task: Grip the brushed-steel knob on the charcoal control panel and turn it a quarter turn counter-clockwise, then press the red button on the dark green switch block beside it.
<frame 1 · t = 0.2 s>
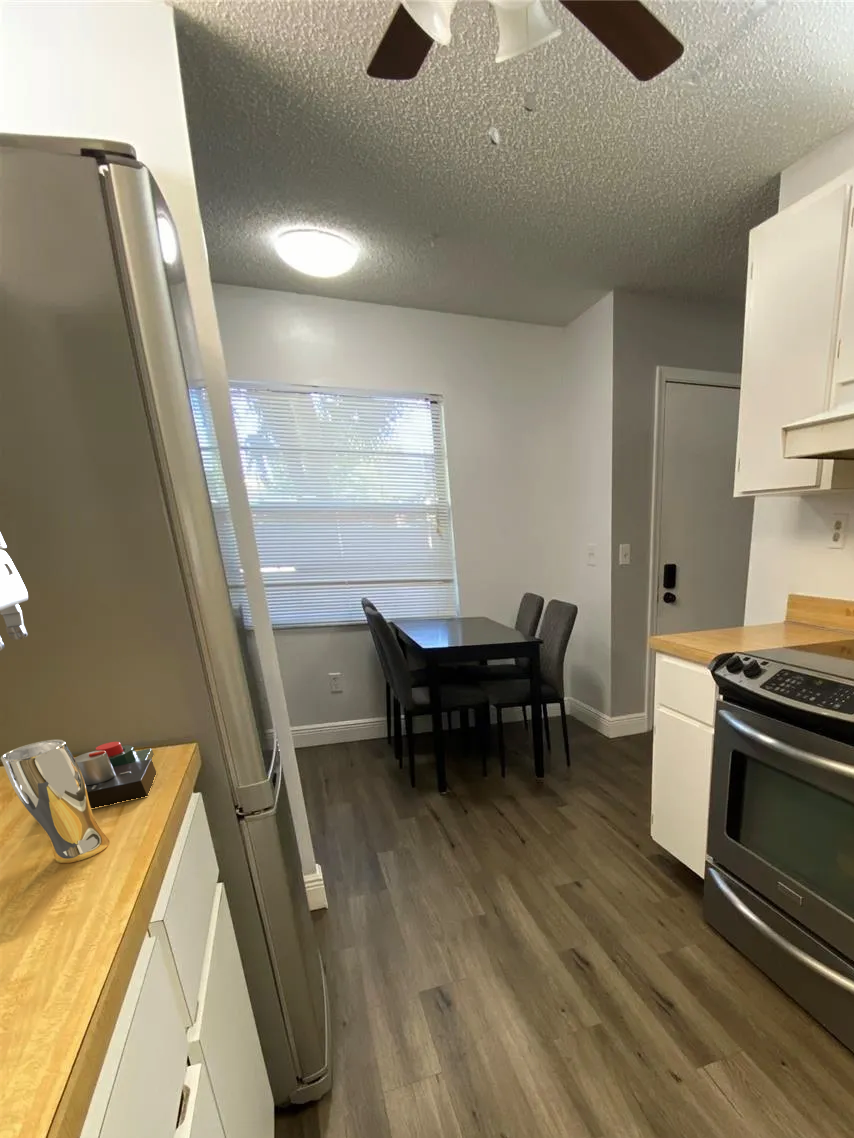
hand: (8, 644, 88), 26 cm above the countertop, tool pointing down, fingers open, 8 cm apart
button: (109, 750, 109), point 4 cm above the countertop, slide at 0.1 cm
beer glass: (83, 852, 86), on the countertop
switch block: (119, 773, 111), on the countertop
knob: (94, 766, 100), point 5 cm above the countertop, hinge at 0.0°
panel: (107, 795, 102), on the countertop
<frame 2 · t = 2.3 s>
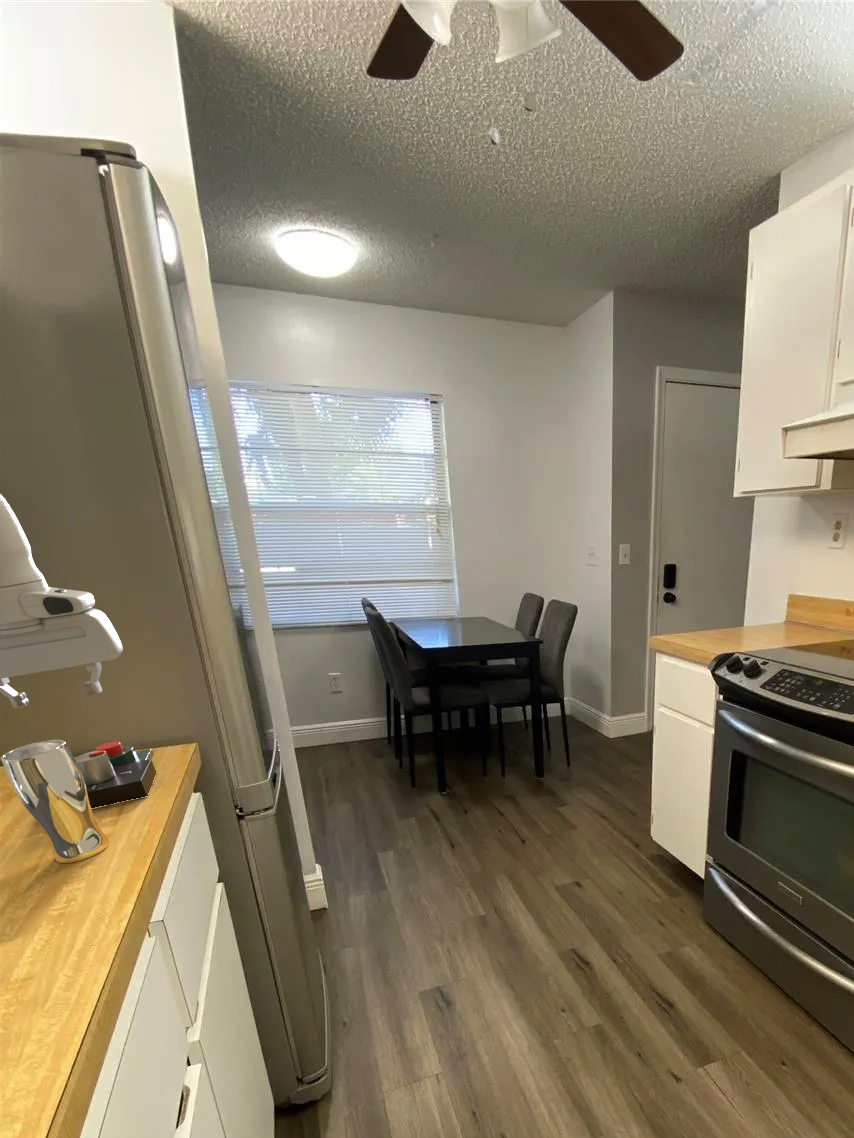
hand: (59, 699, 95), 17 cm above the countertop, tool pointing down, fingers open, 8 cm apart
nothing on the countertop moved.
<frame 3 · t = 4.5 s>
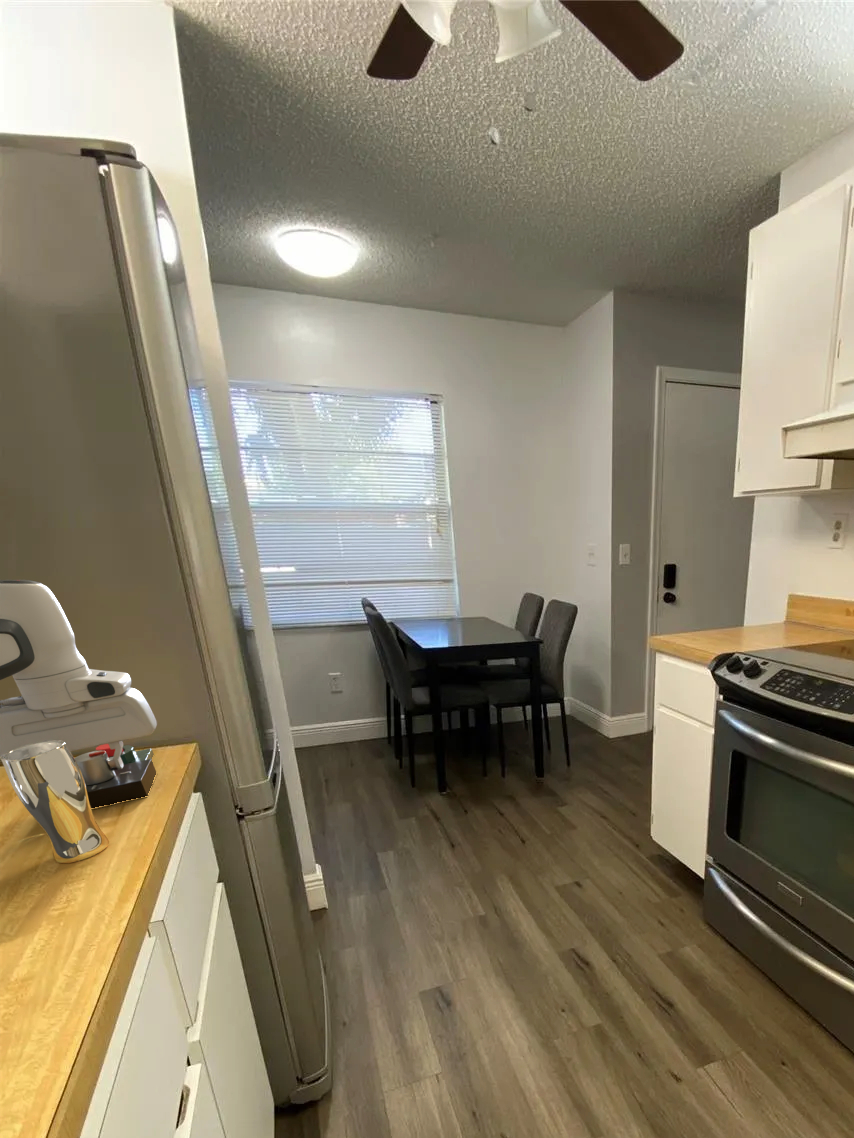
hand: (97, 772, 101), 4 cm above the countertop, tool pointing down, fingers closed on knob, 4 cm apart
knob: (94, 766, 100), point 5 cm above the countertop, hinge at 0.2°, touching gripper
everything else where it was.
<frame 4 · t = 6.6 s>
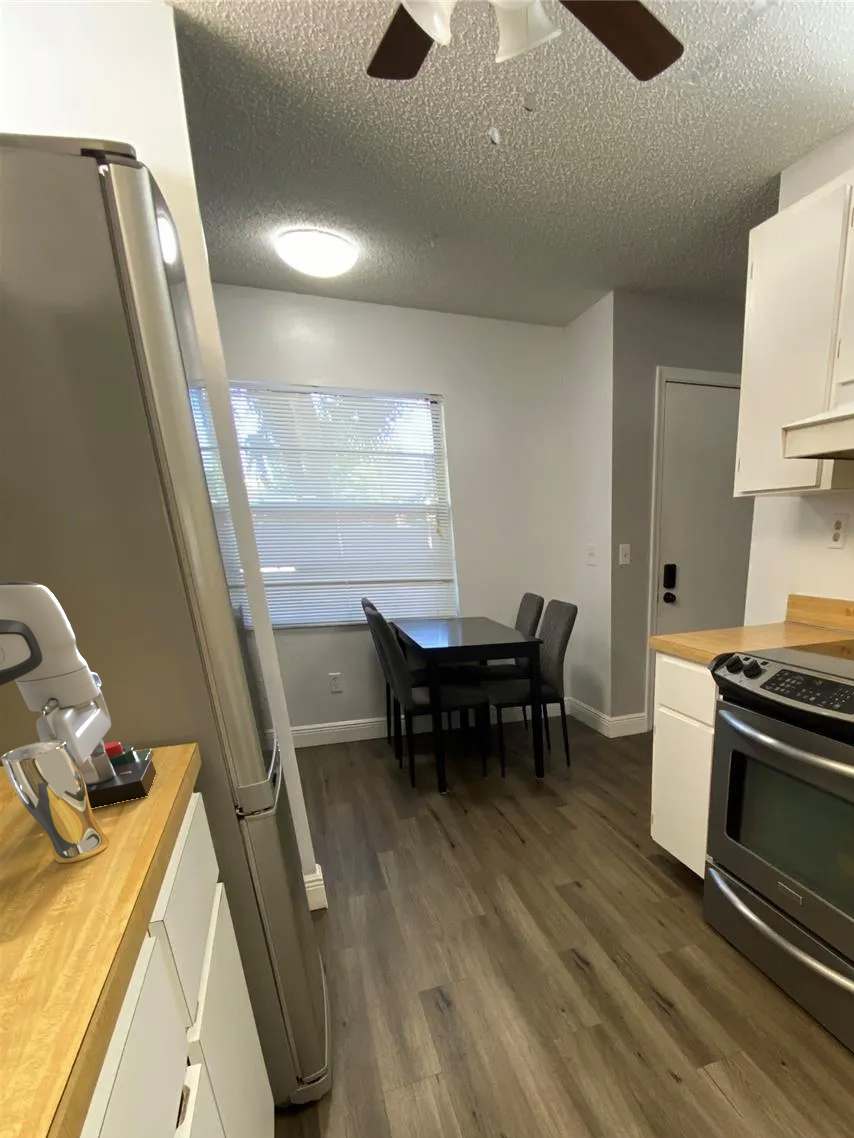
hand: (98, 774, 101), 4 cm above the countertop, tool pointing down, fingers closed on knob, 4 cm apart
knob: (94, 766, 100), point 5 cm above the countertop, hinge at 90.3°, touching gripper
everything else where it was.
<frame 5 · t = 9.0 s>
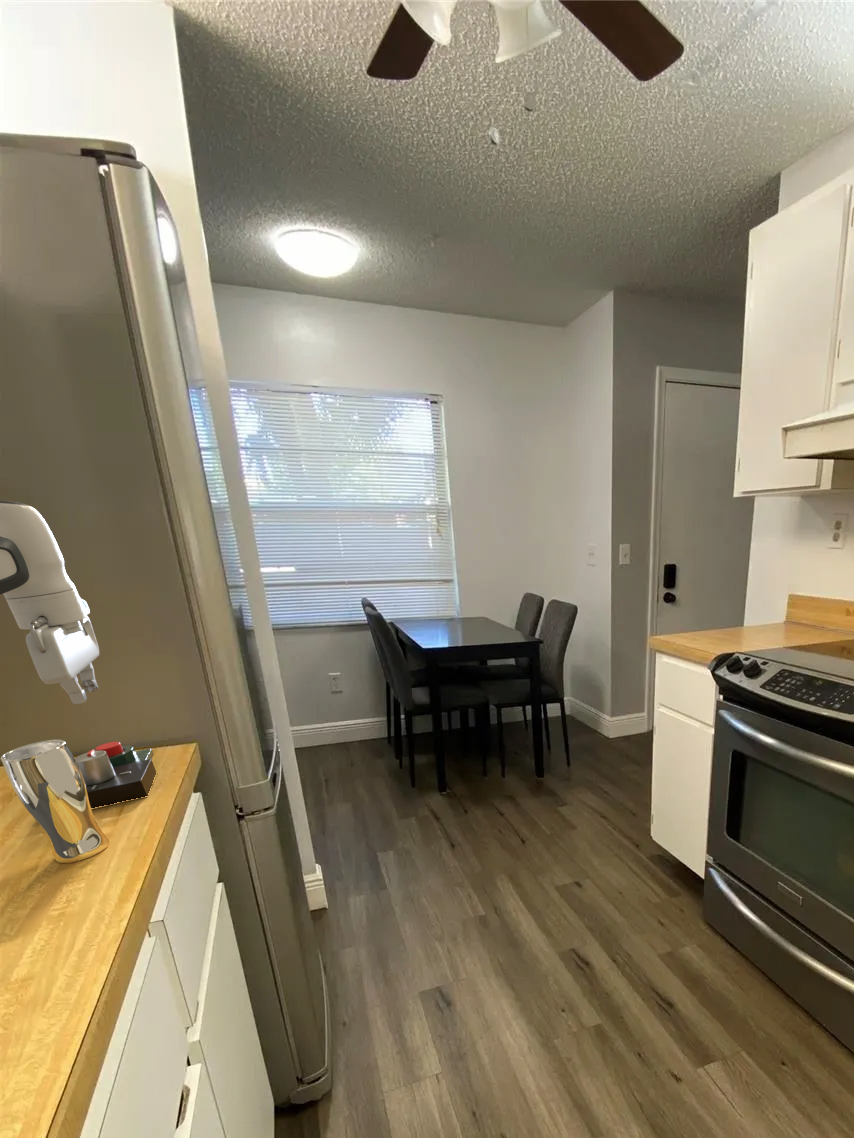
hand: (86, 696, 105), 14 cm above the countertop, tool pointing down, fingers open, 6 cm apart
knob: (94, 766, 100), point 5 cm above the countertop, hinge at 90.0°
everything else where it was.
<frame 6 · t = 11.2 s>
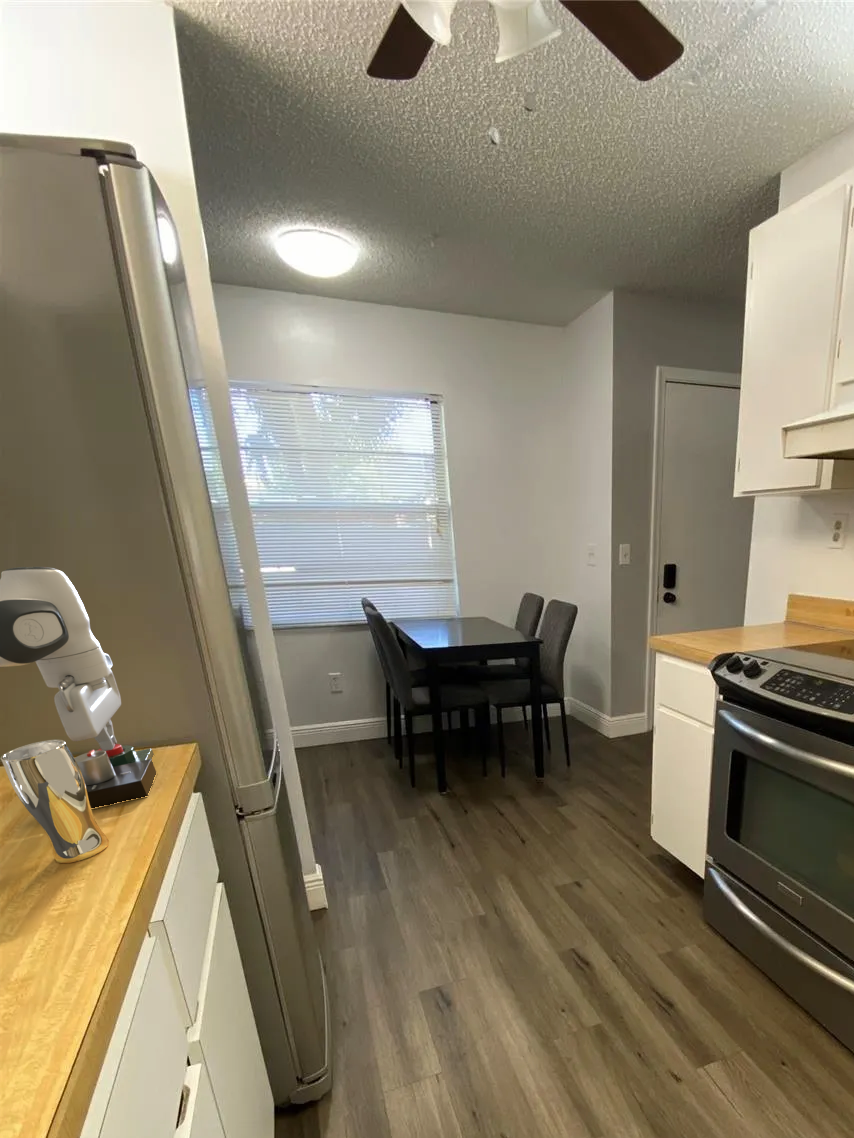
hand: (110, 747, 109), 5 cm above the countertop, tool pointing down, fingers closed, pressing on button
button: (110, 752, 109), point 4 cm above the countertop, slide at -0.4 cm, touching gripper
everything else where it was.
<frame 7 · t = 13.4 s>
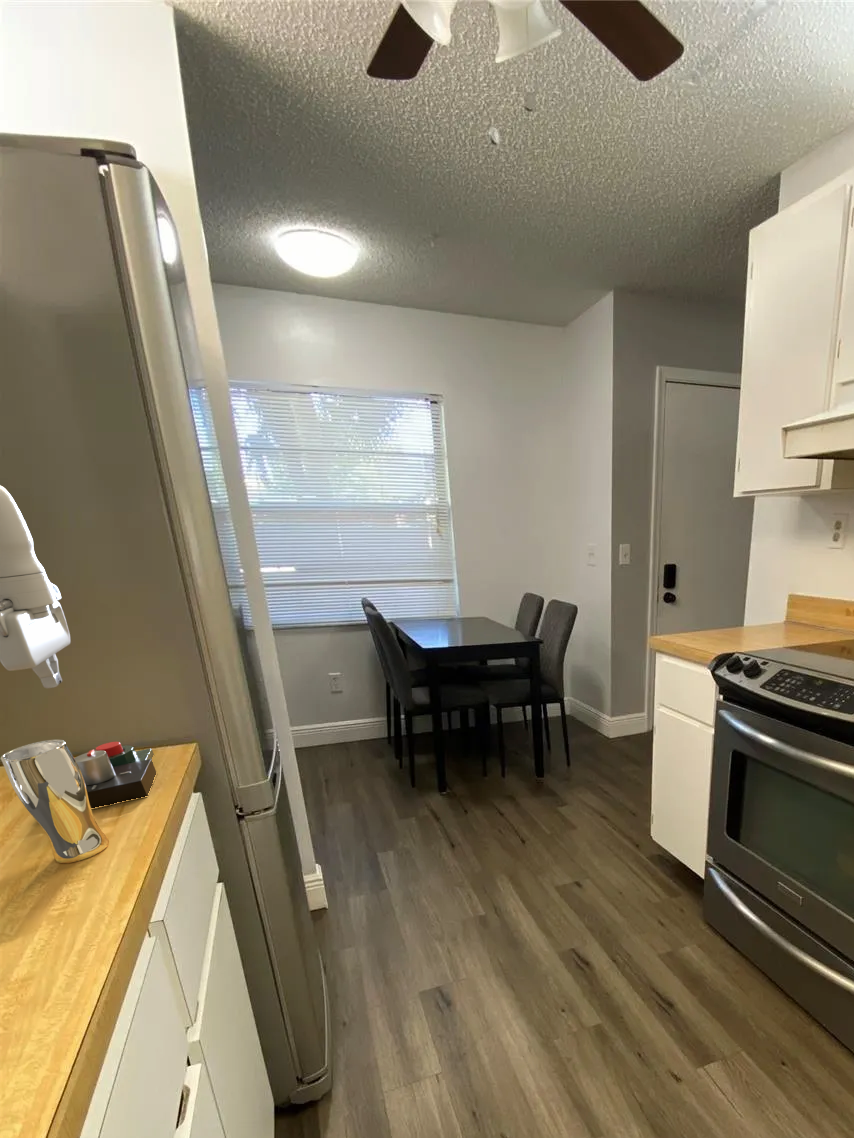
hand: (54, 685, 100), 17 cm above the countertop, tool pointing down, fingers closed
button: (109, 750, 109), point 4 cm above the countertop, slide at 0.1 cm
everything else where it was.
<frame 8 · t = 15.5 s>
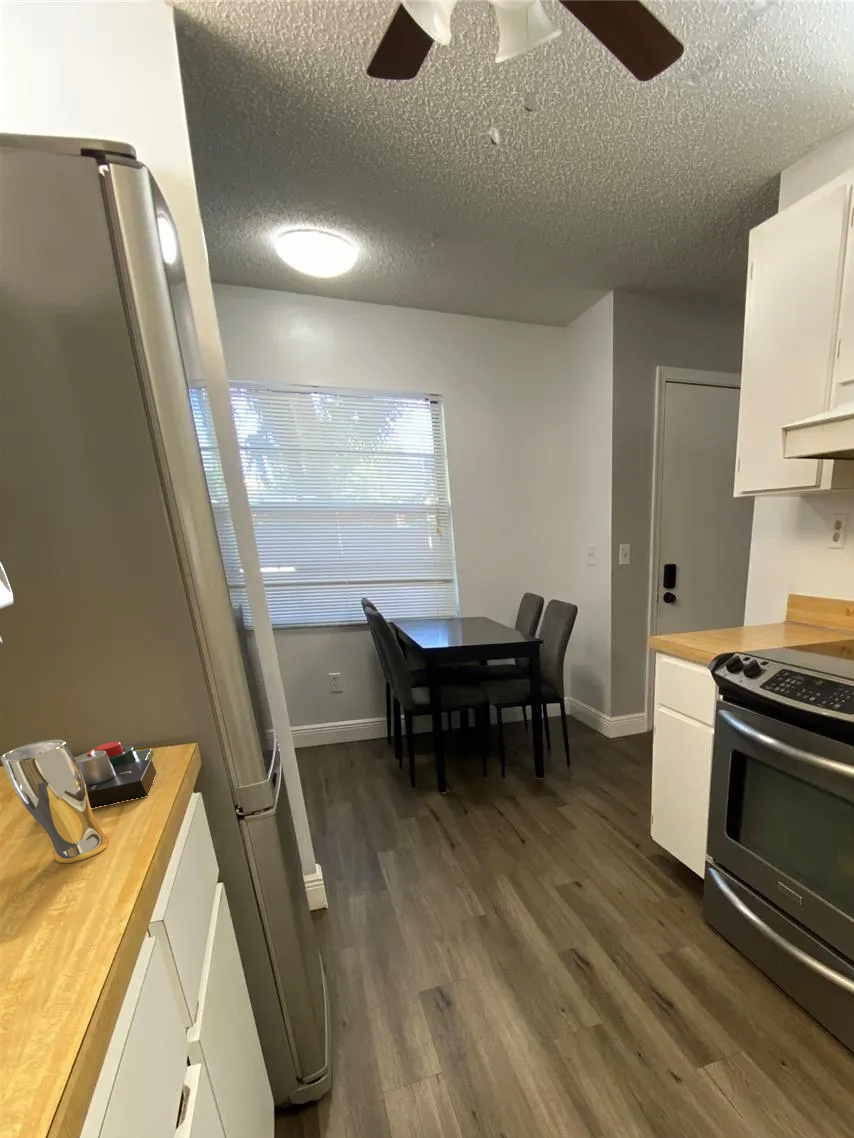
nothing on the countertop moved.
at the end: knob at +90° (first picture: +0°); button pushed in 1.1 cm at the most during the clip, back to where it started at the end; button slide at 0.1 cm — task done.
